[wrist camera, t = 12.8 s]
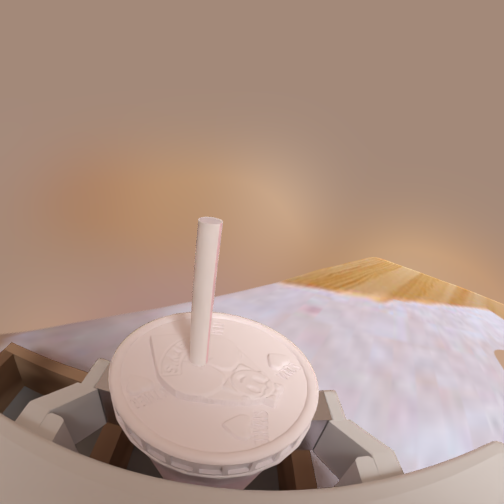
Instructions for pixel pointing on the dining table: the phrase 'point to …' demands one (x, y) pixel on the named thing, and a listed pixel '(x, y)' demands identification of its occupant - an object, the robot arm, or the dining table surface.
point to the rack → (112, 436)
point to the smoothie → (212, 387)
